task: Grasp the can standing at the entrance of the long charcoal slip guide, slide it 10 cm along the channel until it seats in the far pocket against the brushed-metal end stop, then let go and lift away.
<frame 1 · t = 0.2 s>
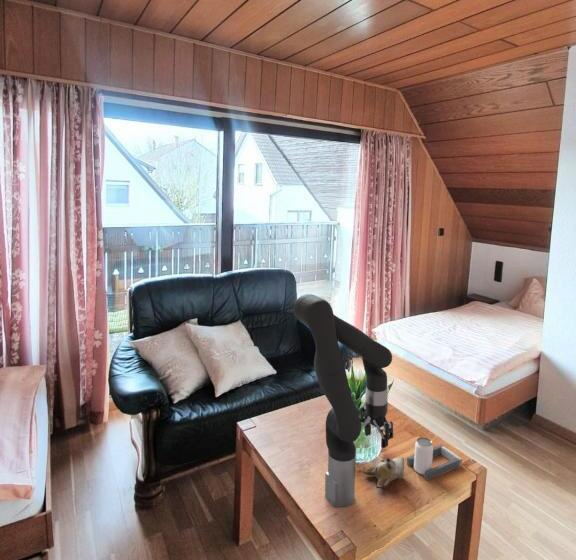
hand: (376, 440, 152), 18 cm above the table, fingers open, 8 cm apart
ceramic sculpture: (386, 480, 159), on the table
slip guide: (434, 465, 166), on the table
can: (422, 470, 164), on the table
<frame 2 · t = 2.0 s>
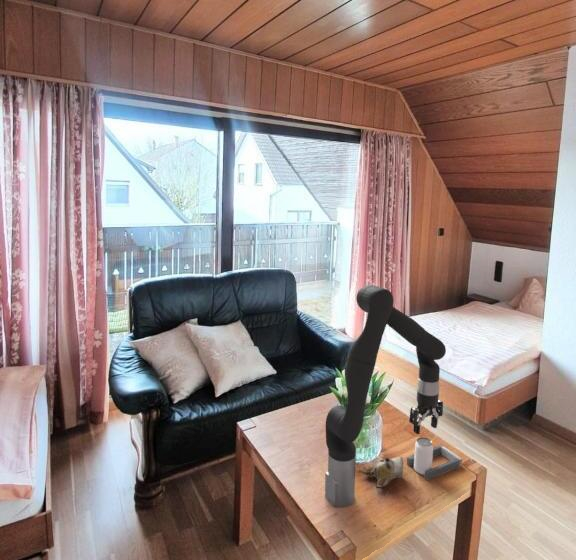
hand: (425, 430, 160), 17 cm above the table, fingers open, 8 cm apart
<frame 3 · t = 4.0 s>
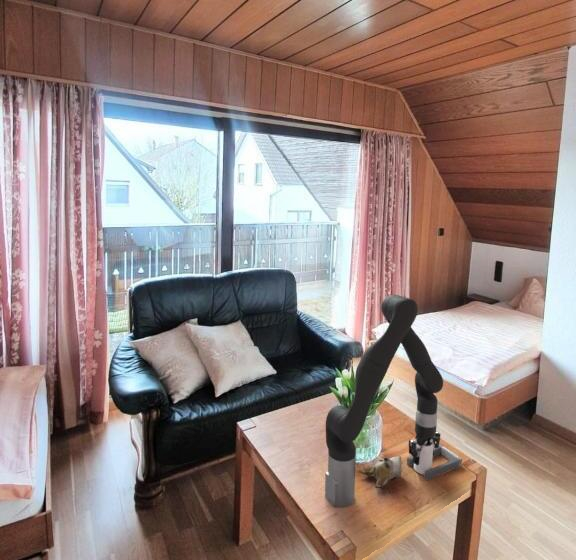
hand: (423, 461, 163), 4 cm above the table, fingers closed on can, 6 cm apart
can: (422, 470, 164), on the table, touching gripper
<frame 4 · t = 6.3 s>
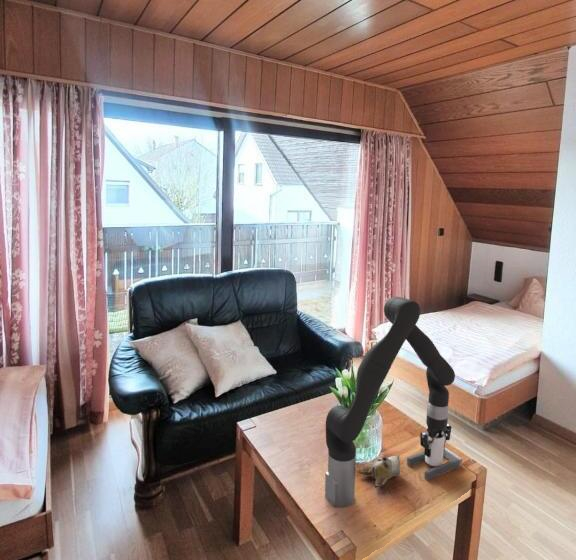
hand: (434, 453, 165), 5 cm above the table, fingers closed on can, 6 cm apart
can: (433, 462, 166), point 1 cm above the table, touching gripper
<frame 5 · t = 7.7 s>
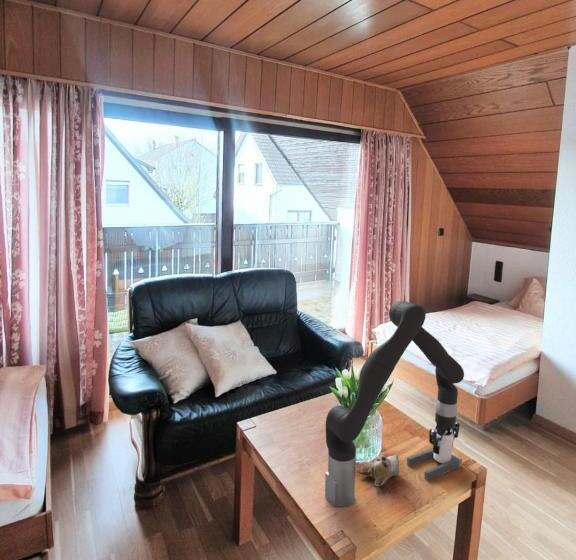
hand: (442, 450, 167), 5 cm above the table, fingers closed on can, 6 cm apart
can: (441, 459, 168), point 1 cm above the table, touching gripper
when the fingers open (5 cm above the table, at t = 8.7 s): can drops 1 cm, on the table.
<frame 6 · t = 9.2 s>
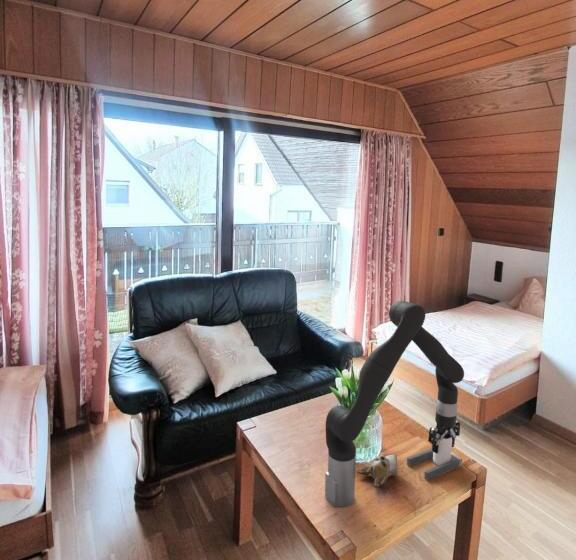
hand: (443, 449, 167), 6 cm above the table, fingers open, 8 cm apart
can: (441, 462, 168), on the table
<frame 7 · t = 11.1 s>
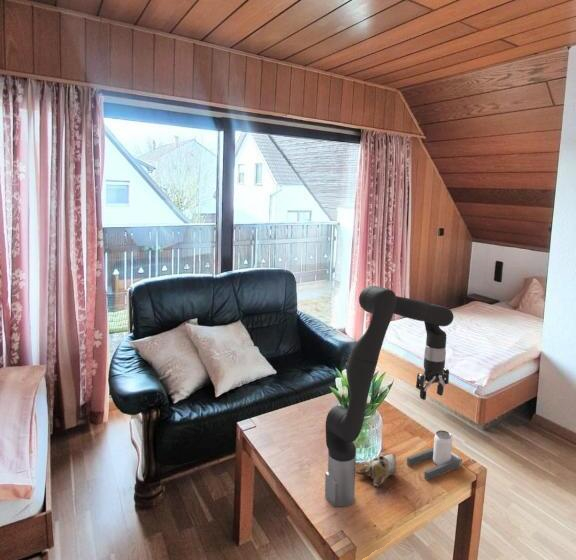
hand: (431, 396, 166), 26 cm above the table, fingers open, 8 cm apart
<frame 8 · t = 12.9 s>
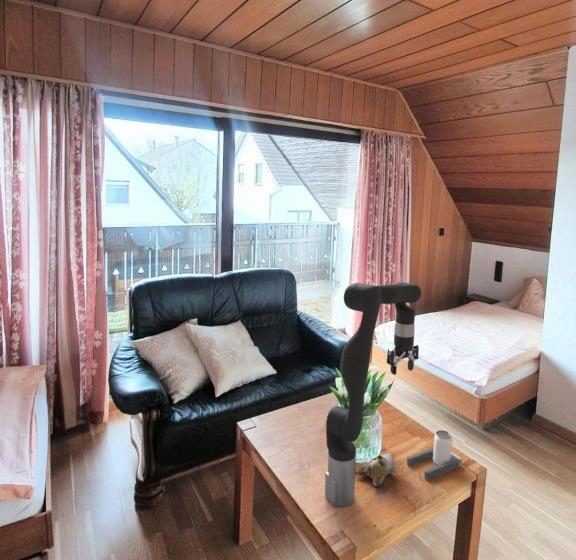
hand: (402, 371, 171), 33 cm above the table, fingers open, 8 cm apart
at the end: can 0.0 cm from the target spot, on the table; can tilted 0°; the gripper is holding nothing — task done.
